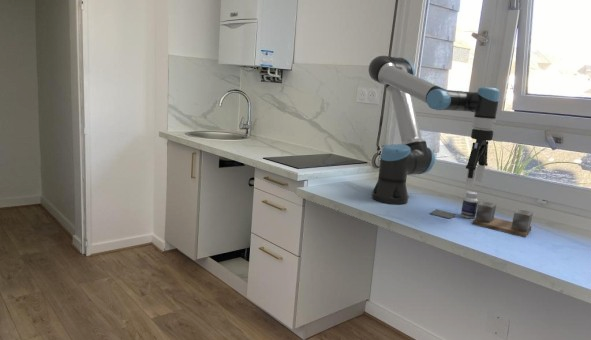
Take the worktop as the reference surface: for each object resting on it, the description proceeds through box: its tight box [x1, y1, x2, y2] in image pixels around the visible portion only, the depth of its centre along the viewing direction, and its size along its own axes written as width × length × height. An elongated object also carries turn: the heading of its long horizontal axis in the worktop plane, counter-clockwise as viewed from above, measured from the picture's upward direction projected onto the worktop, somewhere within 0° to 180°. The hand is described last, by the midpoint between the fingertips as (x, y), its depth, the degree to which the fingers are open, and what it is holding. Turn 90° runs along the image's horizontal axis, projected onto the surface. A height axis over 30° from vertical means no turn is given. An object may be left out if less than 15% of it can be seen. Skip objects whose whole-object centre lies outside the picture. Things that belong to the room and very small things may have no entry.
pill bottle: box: [460, 191, 479, 219], centre depth 171 cm, size 5×5×10 cm
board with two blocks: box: [472, 200, 534, 238], centre depth 161 cm, size 18×12×7 cm, turn 54°
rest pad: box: [429, 208, 457, 220], centre depth 171 cm, size 8×8×1 cm
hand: (474, 184), depth 169 cm, fingers open, 13 cm apart
